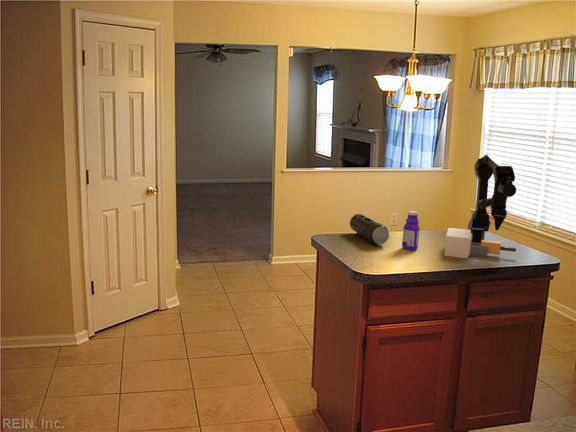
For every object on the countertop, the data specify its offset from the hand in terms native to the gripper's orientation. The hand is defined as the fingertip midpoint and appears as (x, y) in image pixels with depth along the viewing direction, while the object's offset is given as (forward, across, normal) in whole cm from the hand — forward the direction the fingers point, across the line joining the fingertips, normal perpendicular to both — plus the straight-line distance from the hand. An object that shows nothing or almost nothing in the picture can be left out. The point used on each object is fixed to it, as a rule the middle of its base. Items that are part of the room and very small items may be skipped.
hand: (496, 228), depth 259 cm
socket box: (+13, 0, -12) cm, 17 cm away
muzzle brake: (+13, -4, -57) cm, 59 cm away
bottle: (+13, +4, -36) cm, 39 cm away
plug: (+11, 0, +2) cm, 11 cm away
